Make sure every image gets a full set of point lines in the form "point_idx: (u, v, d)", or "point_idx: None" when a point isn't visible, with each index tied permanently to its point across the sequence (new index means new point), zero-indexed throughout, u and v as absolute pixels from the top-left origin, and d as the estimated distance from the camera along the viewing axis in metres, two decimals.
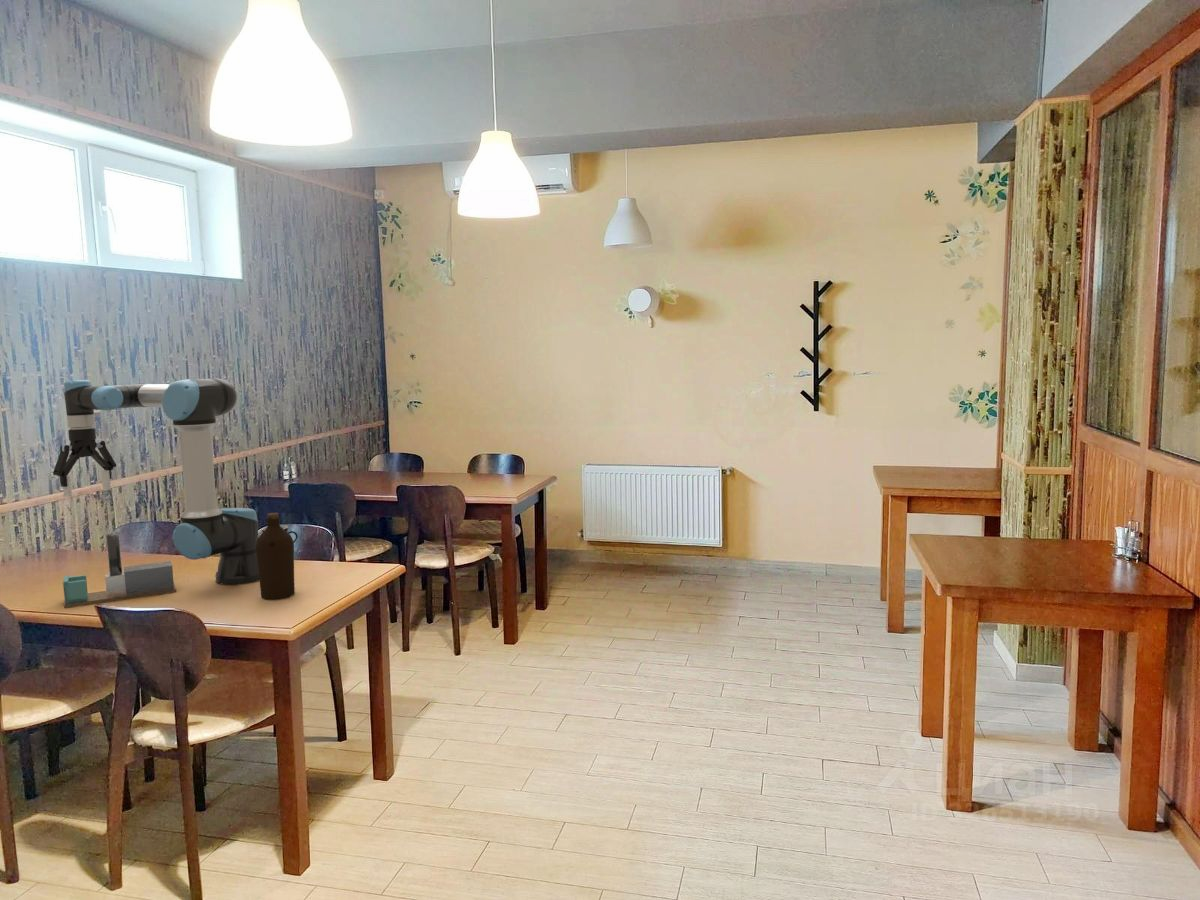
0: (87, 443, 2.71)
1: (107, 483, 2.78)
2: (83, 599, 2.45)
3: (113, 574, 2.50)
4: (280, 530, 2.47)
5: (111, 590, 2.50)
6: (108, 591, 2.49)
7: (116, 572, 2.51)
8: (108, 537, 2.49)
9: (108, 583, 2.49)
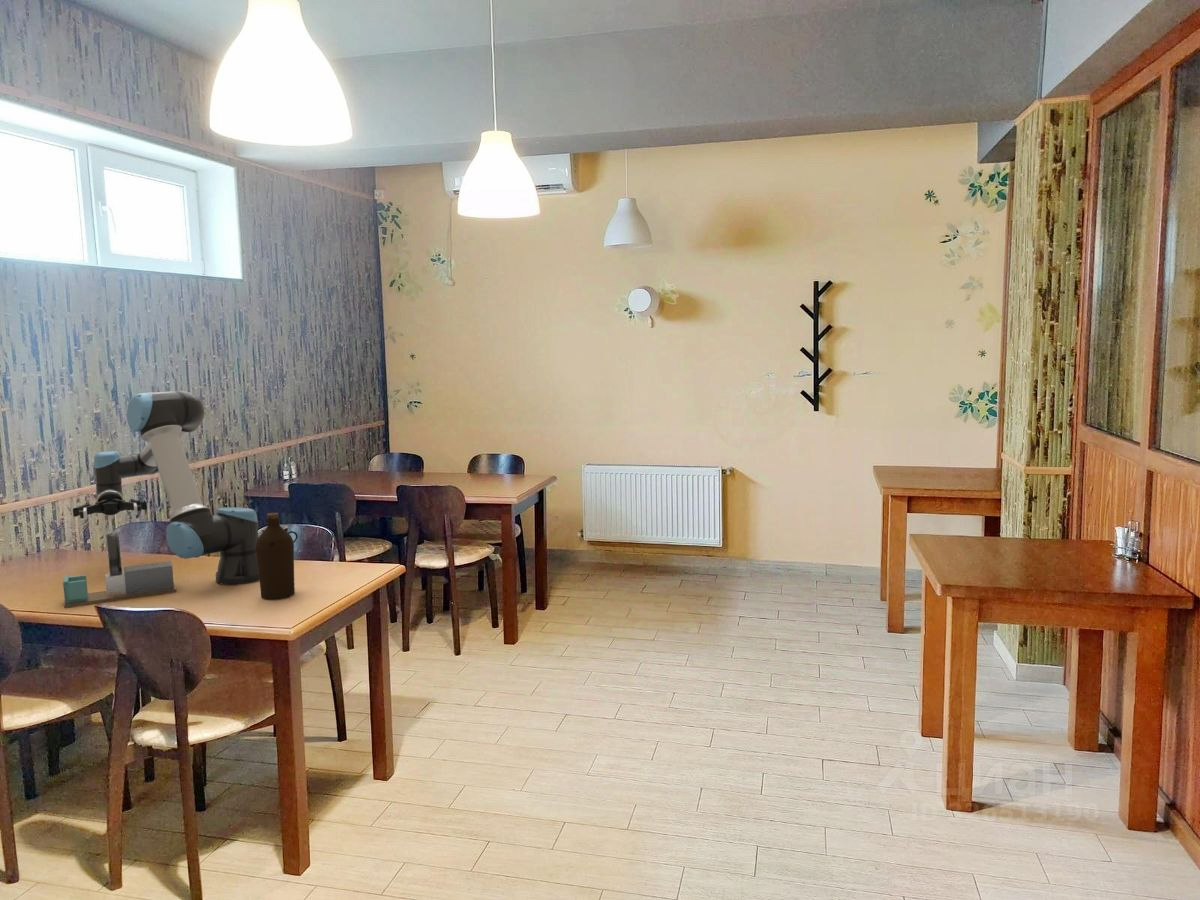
0: (112, 501, 2.72)
1: (134, 506, 2.63)
2: (83, 599, 2.45)
3: (113, 574, 2.50)
4: (280, 530, 2.47)
5: (111, 590, 2.50)
6: (108, 591, 2.49)
7: (116, 572, 2.51)
8: (108, 537, 2.49)
9: (108, 583, 2.49)
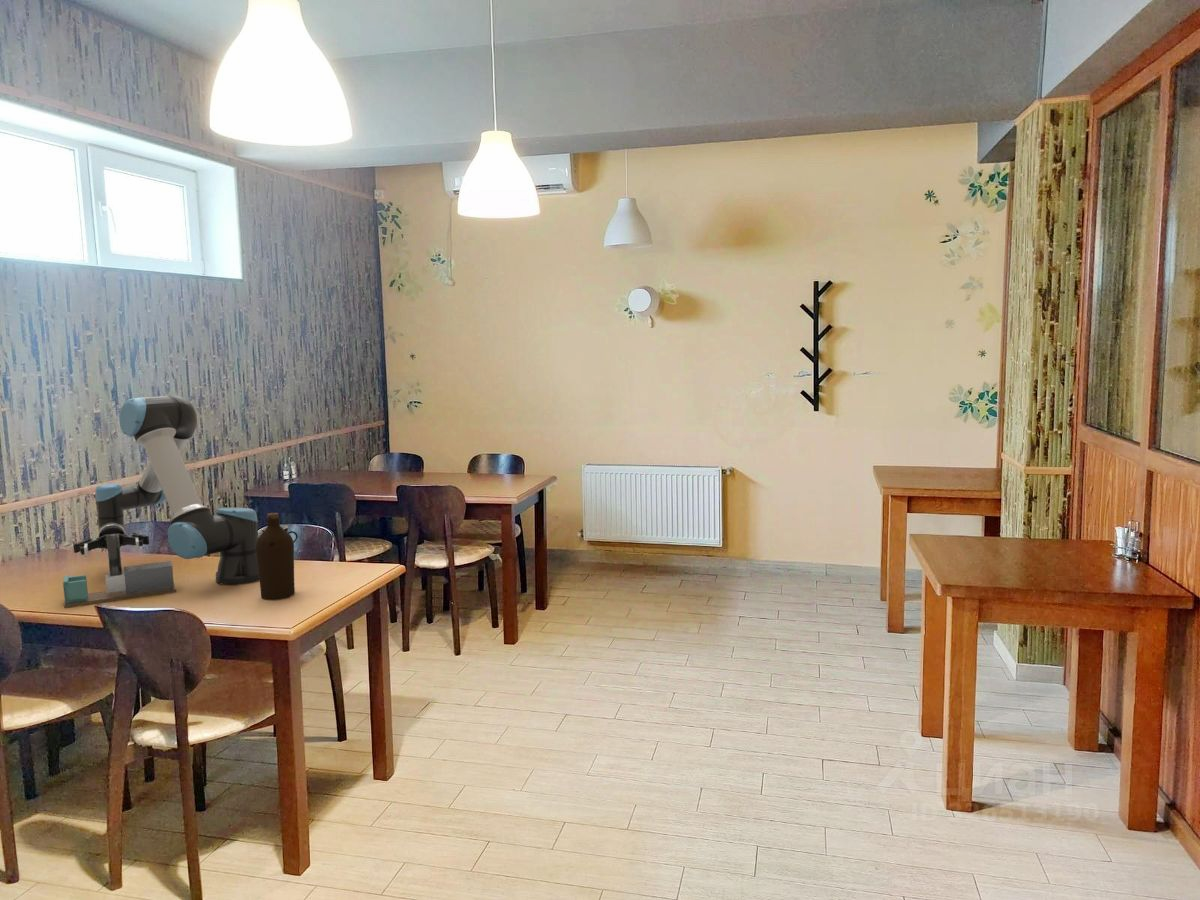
0: None
1: (135, 541, 2.59)
2: (83, 599, 2.45)
3: (113, 574, 2.50)
4: (280, 530, 2.47)
5: (111, 590, 2.50)
6: (108, 591, 2.49)
7: (116, 572, 2.51)
8: (108, 537, 2.49)
9: (108, 583, 2.49)
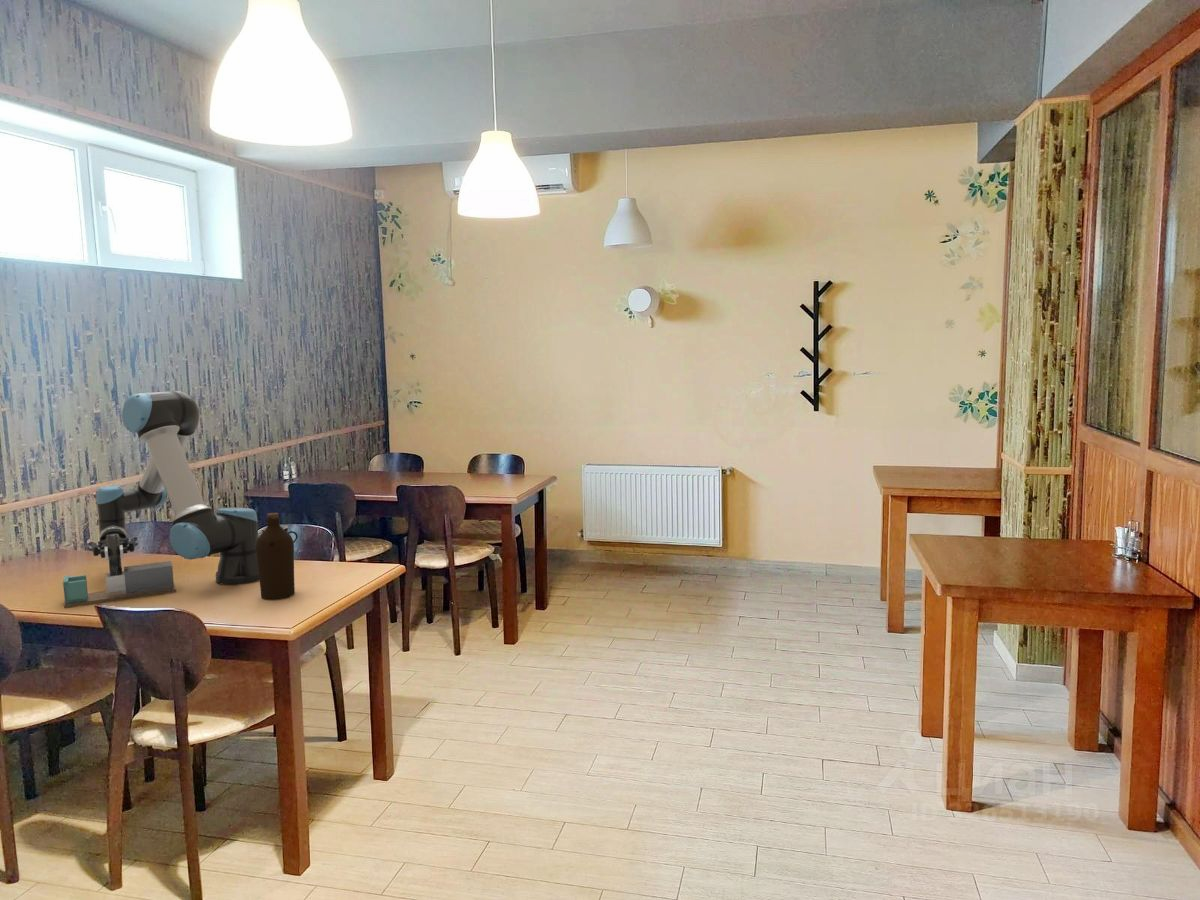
0: None
1: (120, 549, 2.49)
2: (83, 599, 2.45)
3: (113, 574, 2.50)
4: (280, 530, 2.47)
5: (111, 590, 2.50)
6: (108, 591, 2.49)
7: (116, 572, 2.51)
8: (108, 537, 2.49)
9: (108, 583, 2.49)
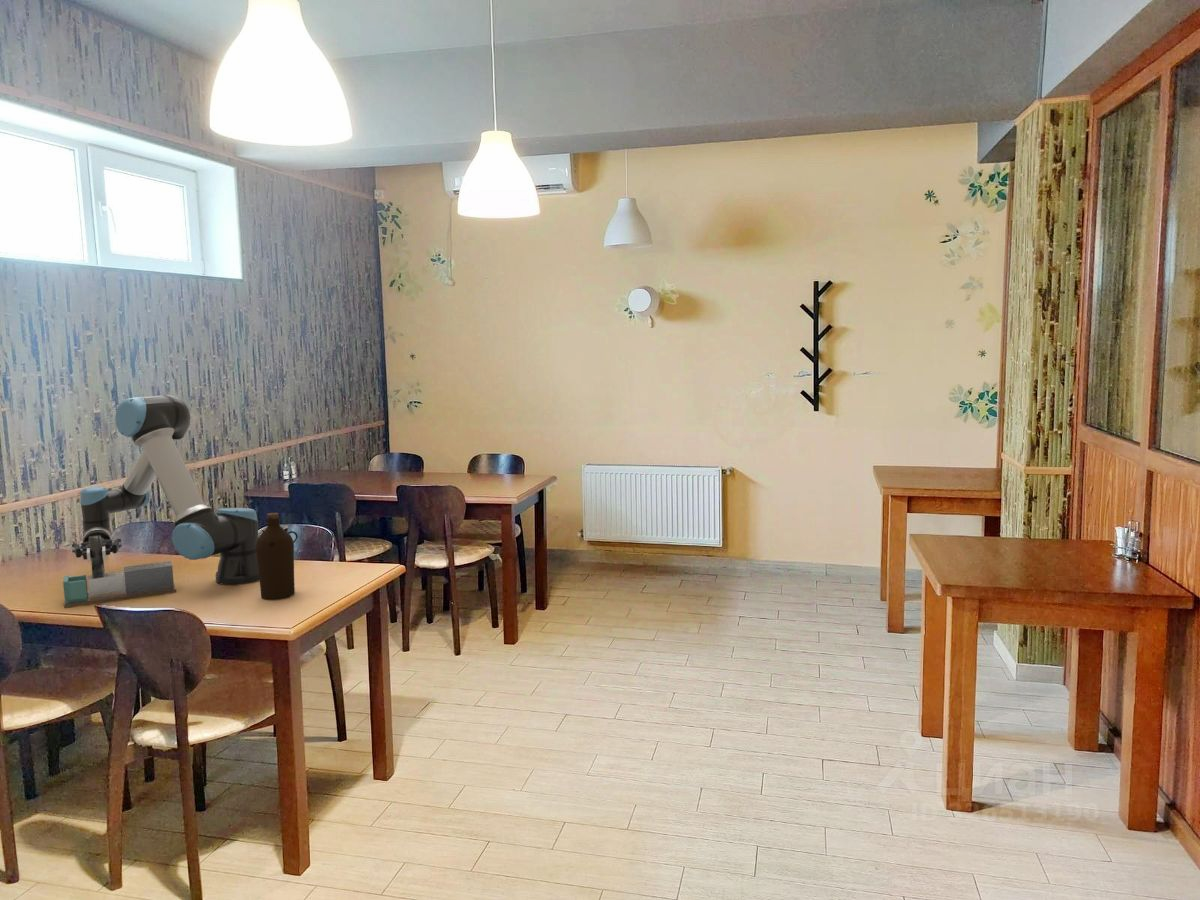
0: None
1: None
2: (83, 599, 2.45)
3: (96, 576, 2.48)
4: (280, 530, 2.47)
5: (94, 592, 2.47)
6: (90, 593, 2.47)
7: (99, 574, 2.48)
8: (90, 539, 2.47)
9: (91, 585, 2.47)
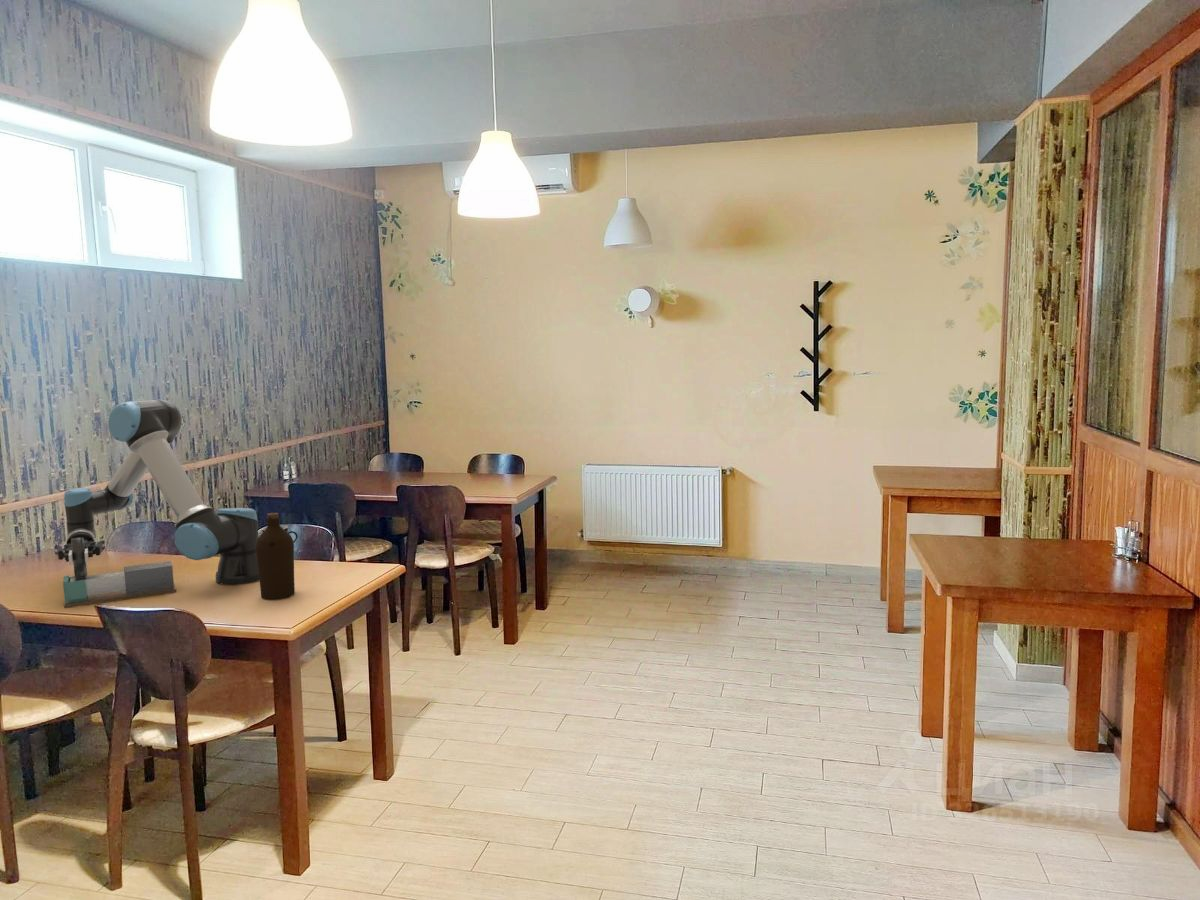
0: None
1: (84, 553, 2.45)
2: (83, 599, 2.45)
3: (78, 579, 2.46)
4: (280, 530, 2.47)
5: None
6: None
7: (81, 577, 2.46)
8: (73, 541, 2.45)
9: None
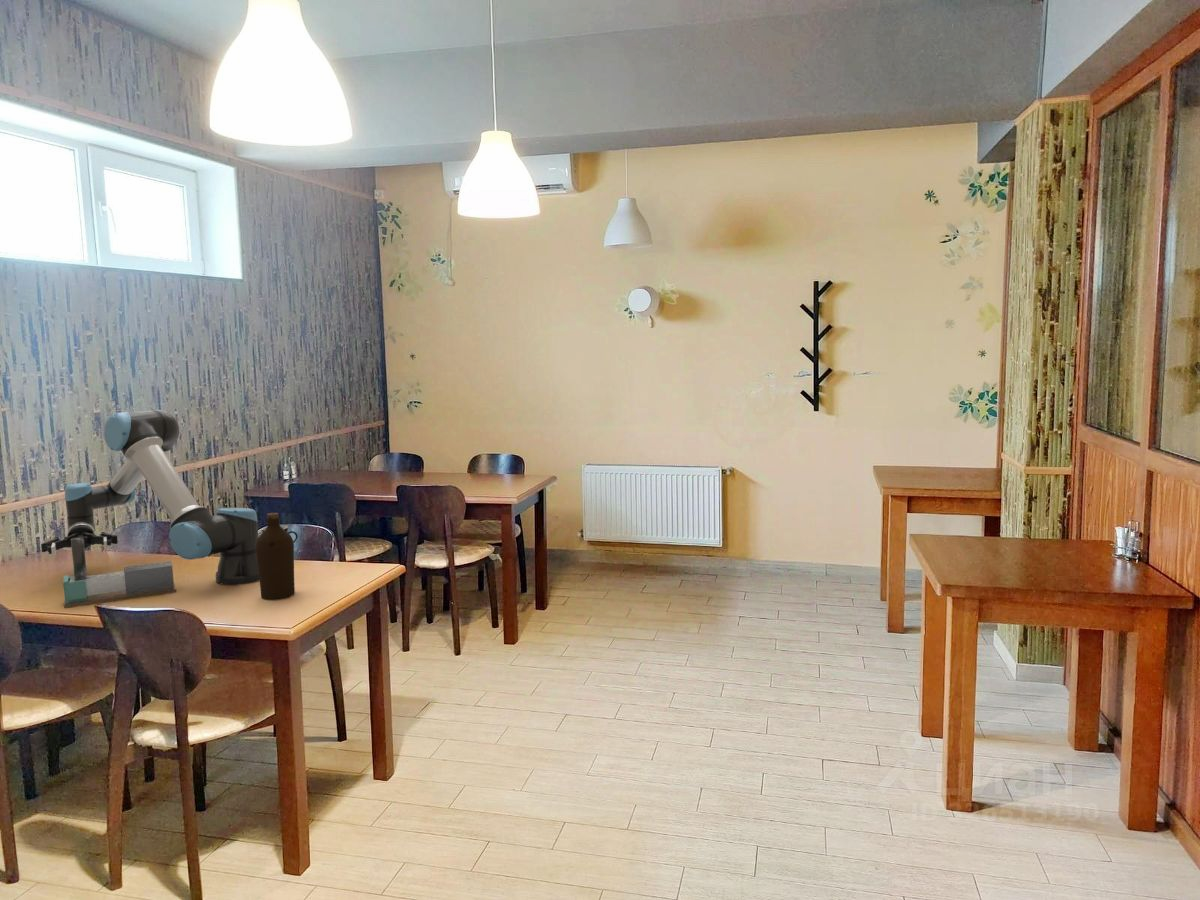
0: (82, 534, 2.69)
1: (103, 541, 2.60)
2: (83, 599, 2.45)
3: (78, 579, 2.46)
4: (280, 530, 2.47)
5: None
6: None
7: (81, 577, 2.46)
8: (72, 541, 2.45)
9: None
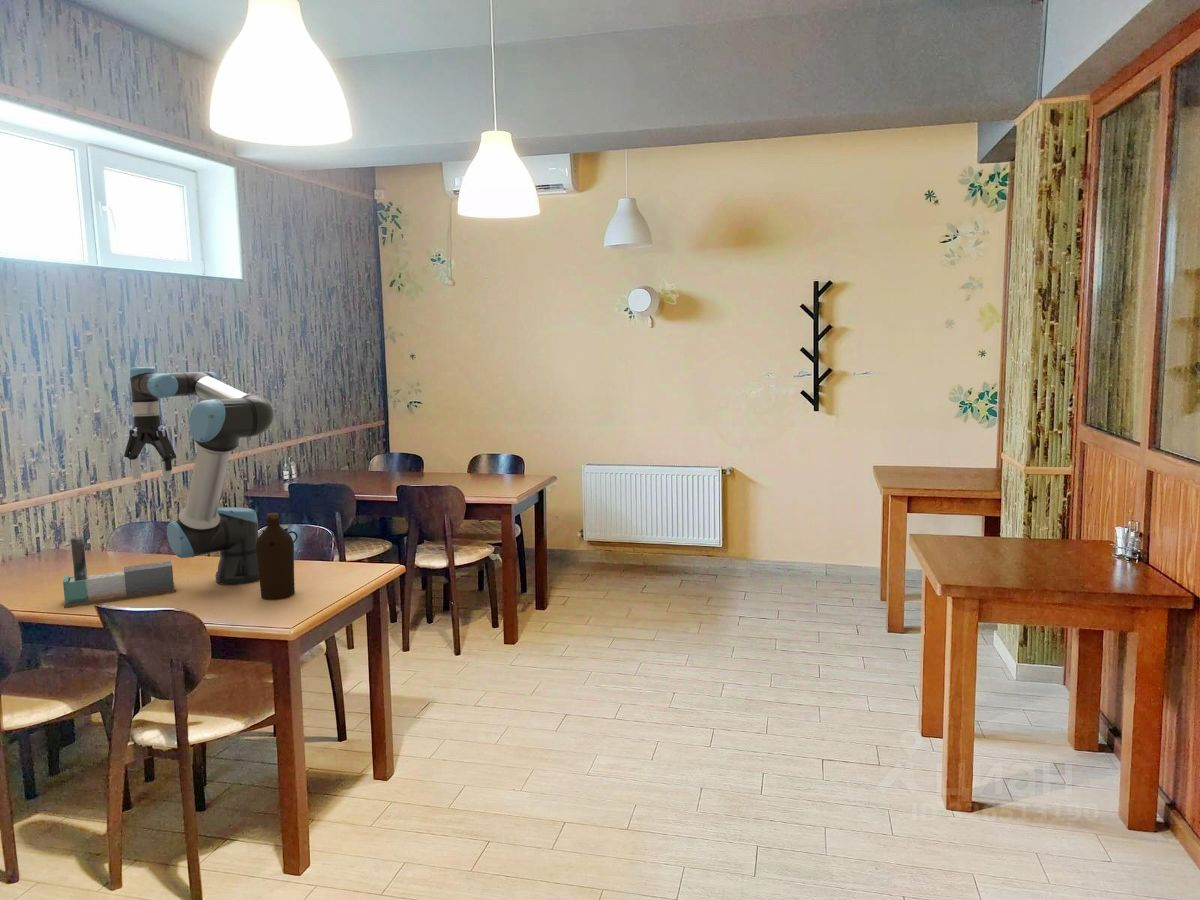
0: (146, 430, 2.69)
1: None
2: (83, 599, 2.45)
3: (78, 579, 2.46)
4: (280, 530, 2.47)
5: None
6: None
7: (81, 577, 2.46)
8: (72, 541, 2.45)
9: None
